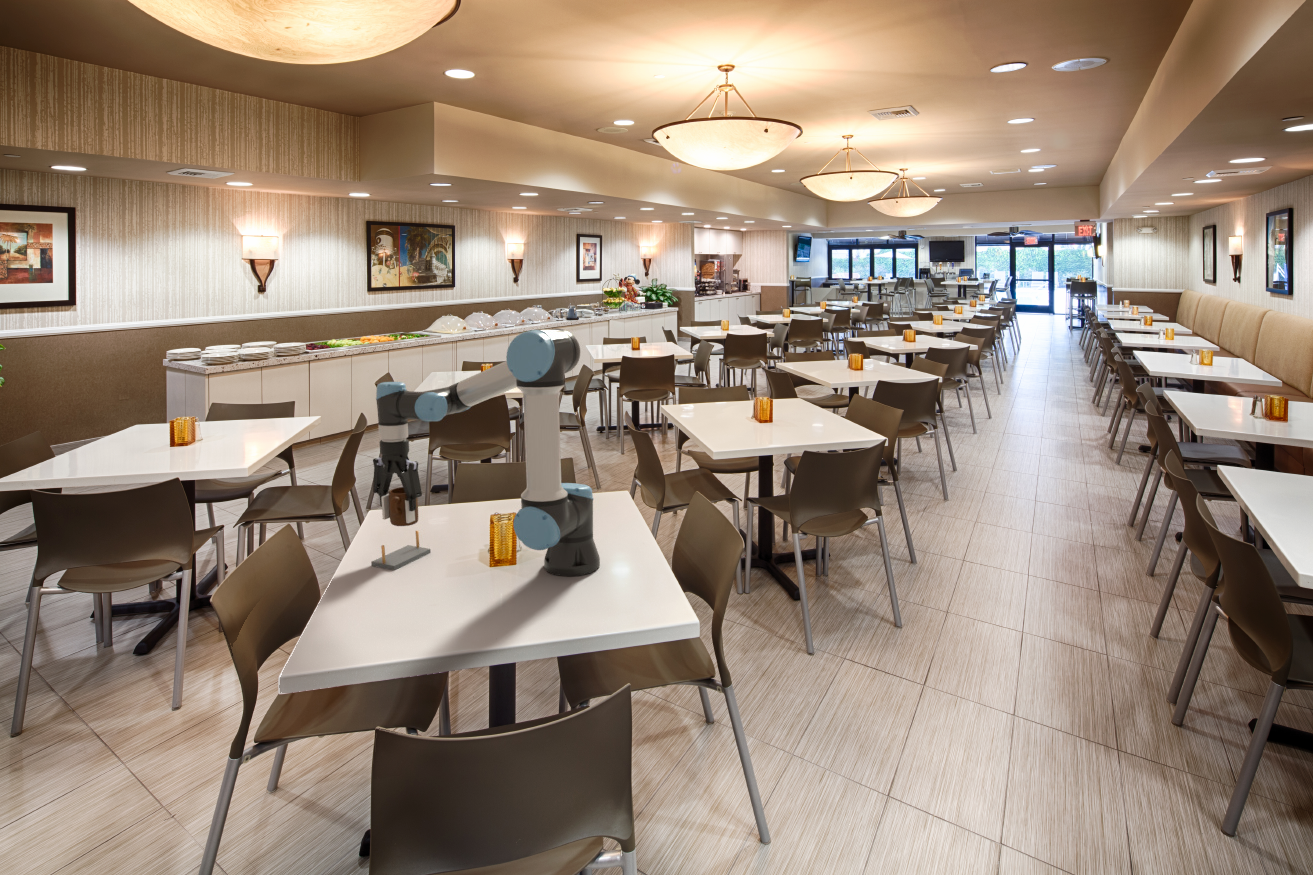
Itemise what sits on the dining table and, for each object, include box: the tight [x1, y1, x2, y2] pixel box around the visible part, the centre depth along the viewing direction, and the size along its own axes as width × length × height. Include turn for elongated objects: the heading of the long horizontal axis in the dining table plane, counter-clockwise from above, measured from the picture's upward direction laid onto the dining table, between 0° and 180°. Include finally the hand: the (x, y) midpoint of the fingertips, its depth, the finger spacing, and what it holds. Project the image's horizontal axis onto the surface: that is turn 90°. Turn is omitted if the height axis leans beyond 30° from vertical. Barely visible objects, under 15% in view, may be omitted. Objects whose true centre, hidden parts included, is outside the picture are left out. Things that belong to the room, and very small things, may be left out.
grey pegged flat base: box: [371, 530, 432, 571], centre depth 204 cm, size 8×15×6 cm, turn 158°
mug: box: [388, 486, 419, 527], centre depth 202 cm, size 12×8×9 cm, turn 178°
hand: (398, 519), depth 203 cm, fingers closed on mug, 7 cm apart
